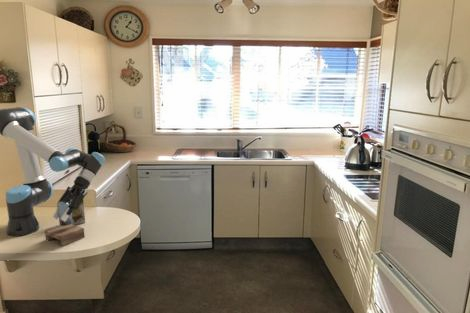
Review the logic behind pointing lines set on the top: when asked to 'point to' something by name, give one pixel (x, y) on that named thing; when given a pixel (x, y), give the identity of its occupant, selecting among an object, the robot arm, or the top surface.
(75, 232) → the walnut shelf
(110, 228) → the top surface
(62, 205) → the clear cup
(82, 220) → the coffee box
